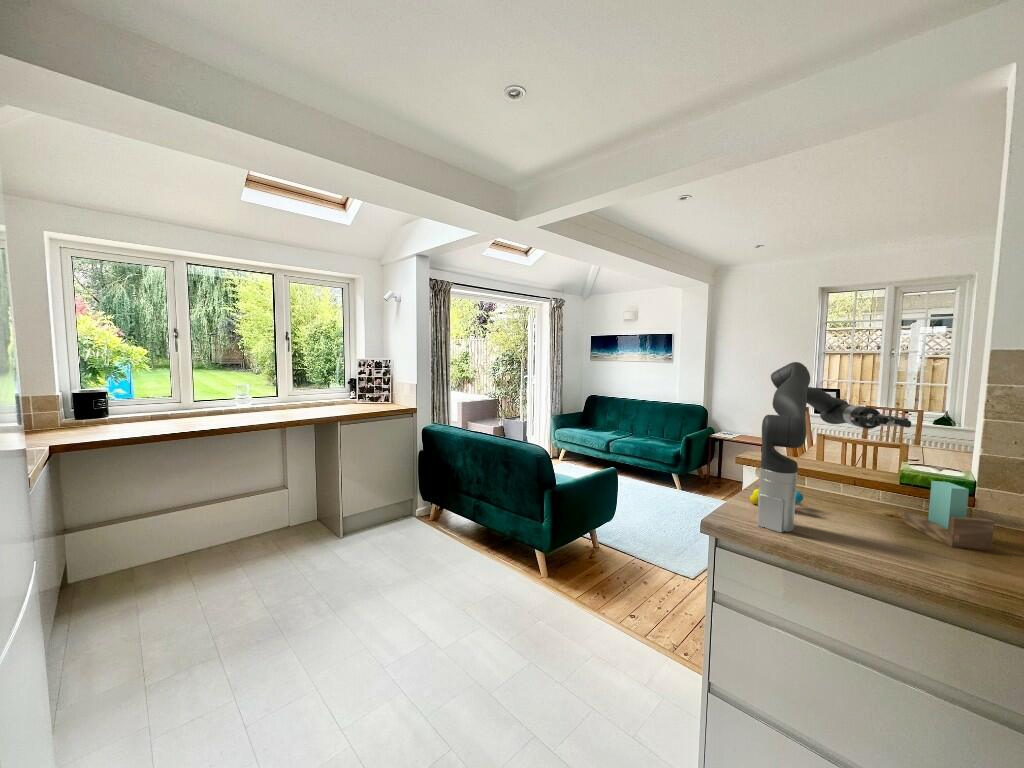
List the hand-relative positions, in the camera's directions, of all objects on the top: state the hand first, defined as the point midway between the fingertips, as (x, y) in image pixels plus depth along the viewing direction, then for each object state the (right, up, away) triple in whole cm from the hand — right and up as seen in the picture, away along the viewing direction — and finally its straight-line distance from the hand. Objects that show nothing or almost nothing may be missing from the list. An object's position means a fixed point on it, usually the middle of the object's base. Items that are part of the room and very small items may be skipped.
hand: (894, 423), depth 132 cm
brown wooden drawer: (+2, -31, -13) cm, 34 cm away
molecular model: (-33, -29, +10) cm, 45 cm away
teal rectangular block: (+2, -30, -14) cm, 33 cm away
